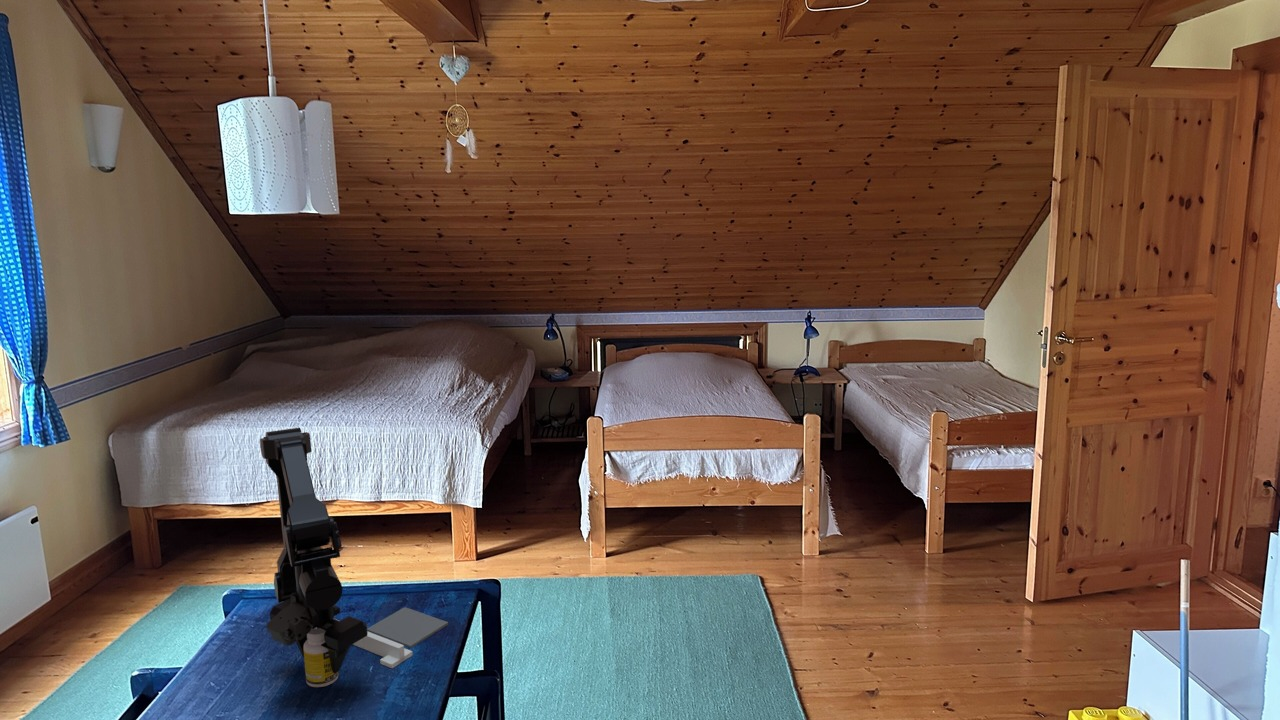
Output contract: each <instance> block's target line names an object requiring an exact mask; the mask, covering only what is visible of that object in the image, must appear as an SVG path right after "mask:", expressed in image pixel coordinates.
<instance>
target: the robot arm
mask: <svg viewBox="0 0 1280 720" xmlns="http://www.w3.org/2000/svg"><path fill="white" fill-rule="evenodd" d="M259 444H260V445H259V447H260V452H261V457H262V458H263V459H265V462H266V465H267V466H268V468H270V470H271V471H272V473H274V475H276V477H275V478H276V485H277V495H278V503H279V512H280V522H281V531H282V532H281V533H282V541H283V549H282V550H281V552H280V555H279V556H278V558H277V560H276V566H277V572H275V573H274V576H273V577H274V578H273V585H274V586H273V587H274V594H275V597H276V600H277V604H276V605H273V607H272V609H271V611H269V621H267V623H266V625H265V627H266V629H267V631H268V632H269V634H270V636H271V638H272V640H273V641H274V642H278V643H280V644H283V645H284V646H288V647H289V646H292V645H293V644H294V643H295V644H296V646H297V648H298V650H299V652H300V654H301V657H302V659H304V643H305V642H306V640H307V634H308V633H309V632H310V631H311V629H314V628H315V629H318V628H321V629H323V630H326V632H325V634H324V641H325V643H323V644H321V646H322V647H325V648H327V649H328V652H329V657H330V663H331V668H332V671H333V673H334V674H335V673H337V672H338V671H340V670H341V668H342V666H343V663H344V661H345V658H346V656H347V654H348V651H349V649H350V647H351V645H353V644H354V643H356V642H357V641H359V640H361V639H362V638H364V637H366V636H367V634H368V632H367V628H368V623H366V622H365V621H363V620H360V619H358V618H356V617H355V618H354V617H352V616H349V615H348V616H346V617H345V618H343V619H341V620H339V619H336V618H335V617H336V616H338V615H339V614H341V607H339V606H337V605H336V604H337V603H338V602H339V601H340V599H342V595H343V590H344V589H343V584H342V583H341V581H340V579H339V577H338V575H337V572H336V571H335V569H334V567H333V565H332V560H333V559H337V558H340V557H341V552H340V549H342V546H343V545H342V540H341V536H340V532H339V527H338V523H337V522H336V521H335V518H333V516H329V512H328V509H327V506H326V504H325V503H323V501H321V500H319V499H318V498H317V497H316V492H315V488H314V484H313V480H312V475H311V471H310V468H309V467H310V466H309V463H308V454H310V453H312V452H313V451H312V442H311V434H310V433H309V432H305V431H304V432H302V429H301V427H294V428H286V429H279V430H271V431H266V432H265V436H264V437H262V438H259ZM330 542H331V545H332V546H329V545H330ZM325 546H329V547H325ZM323 547H325V548H323ZM338 620H339V621H338Z"/></svg>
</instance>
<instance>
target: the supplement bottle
mask: <svg viewBox="0 0 1280 720" xmlns="http://www.w3.org/2000/svg"><path fill="white" fill-rule="evenodd" d="M325 632H326V630H323V629H321V628H318V629H315V628H314V629H311V631H310V632H309V633H308V634H307V640H306V642H305V643H304V658H303V661H304V673H305V682H306V684H307V685H308V686H309V687H312V688H322V687H327V686H329V685H333V683H335V682H337V680H338V679H339V674H340V673H339V671H340V670H339V671H338V672H337V673H335V674H334V673H333V671H332V668H331V663H330V657H329V652H328V649H327V648H325V647H322V646H321V644H323V643H325V641H324V634H325Z"/></svg>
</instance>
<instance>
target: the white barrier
mask: <svg viewBox="0 0 1280 720" xmlns="http://www.w3.org/2000/svg"><path fill="white" fill-rule="evenodd" d="M337 620H338V621H340V620H339V619H337ZM367 632H368V631H367ZM352 645H353V646H356V647H358V648H360V649H362V650H366V651H368V652H370V653H372V654H375V655H378V656H381V657H382V658H381V659H379V663H380V665H383V666H385V667H387V668H389V669H390V668H391V669H394V668H395V667H396V666H399V665H400V664H402V662H403V663H404V661H406V660H407V659H409V658H410V657H413V651H412V650H409V649H407V648H405V646H404V645H402V644H399V643H397V642H394V641H391V640H389V639H386V638H383V637H381V636H378V635H376V634H373V633H370V632H368V634H367V636H366V637H364V638H362V639H361V640H359V641H357V642H356V643H354V644H352Z"/></svg>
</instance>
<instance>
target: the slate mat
mask: <svg viewBox="0 0 1280 720" xmlns="http://www.w3.org/2000/svg"><path fill="white" fill-rule="evenodd" d="M447 626H449V622H448V621H445V620H442V619H440V618H437V617H434V616H431V615H429V614H426V613H423V612H420V611H417V610H414V609H412V608H408V607H406V606H404V607H402V608H400V609H399V610H397V611H395V612H393V613H392V614H390V615H389V616H387V617H385V618H383V619H381V620H380V621H378V622H376V623H374V624H373V625H371V626H369V627H367V631H368V632H370V633H373V634H376V635H378V636H381V637H383V638H386V639H389V640H391V641H394V642H397V643H399V644H402V645H404V647H406V648H409V649H413V648H414V647H416V646H417V645H418V644H420V643H422V642H423V641H425V640H427V639H428V638H430V637H431V636H433V635H434V634H436V633H437V632H439V631H440V630H443V629H444V628H445V627H447Z"/></svg>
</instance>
